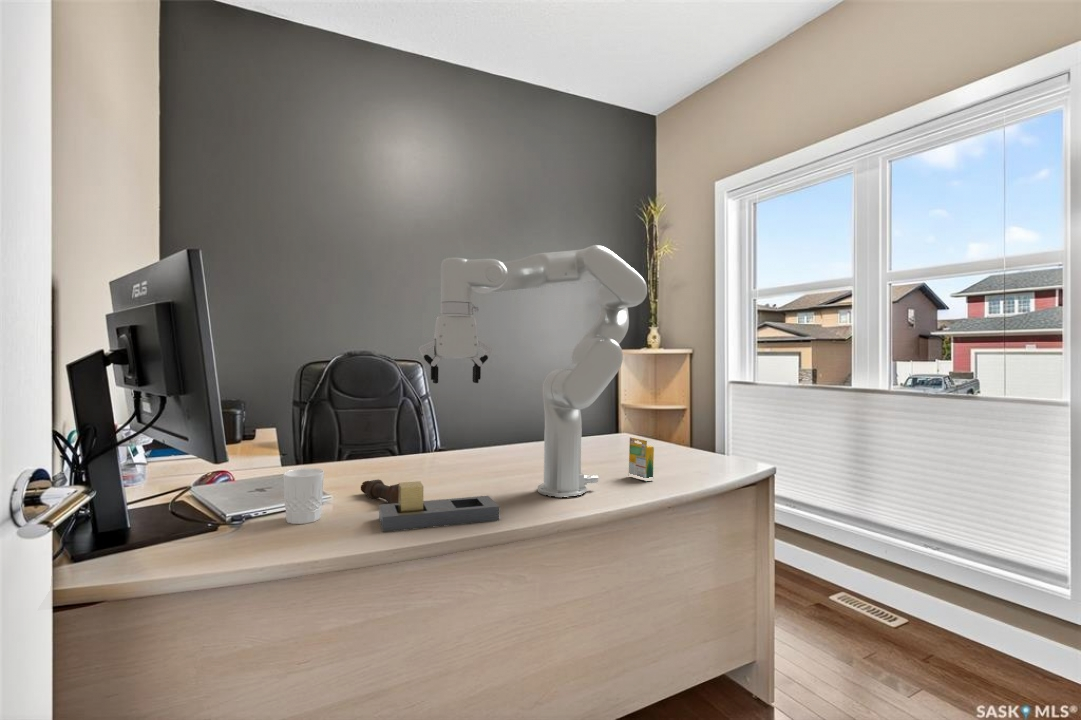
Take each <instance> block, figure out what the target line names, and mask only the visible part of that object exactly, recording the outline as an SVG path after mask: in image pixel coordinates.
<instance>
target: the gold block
mask: <svg viewBox="0 0 1081 720" xmlns="http://www.w3.org/2000/svg"><path fill="white" fill-rule="evenodd" d="M398 484H399V498H398V513H409V512H420V511H423V501H424V485H423V483H422V482H421V481H420V480H418V481H406V482H398Z"/></svg>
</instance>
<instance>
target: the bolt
mask: <svg viewBox="0 0 1081 720" xmlns="http://www.w3.org/2000/svg"><path fill="white" fill-rule="evenodd" d="M360 491H361V492H362V493H363V494H366V496H367V498H368V499H371V500H376V499H382V500H385V502H387V504H394V503H398V498H399V483H396V484H392V485H390V486H389V485H388V484H387V485H386V484H385V483H384V482H383V480H382V479H379V478H378V479H371V480H366V481H363V482H362V483H361V485H360Z"/></svg>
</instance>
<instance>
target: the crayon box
mask: <svg viewBox="0 0 1081 720" xmlns="http://www.w3.org/2000/svg"><path fill="white" fill-rule="evenodd" d="M637 442H639V443H637ZM640 442H641V443H640ZM647 443H648V440H645V439H639V438H635V437H629V448H628V449H629V450H628V451H629V453H628V456H629V457H628V474H629V473H630V474H633V475H637V476H640V477H643V478H649V477H653V478H654V459H655V457H654V453H655V447H654V446H651V445H648V444H647Z"/></svg>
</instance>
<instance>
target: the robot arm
mask: <svg viewBox="0 0 1081 720" xmlns="http://www.w3.org/2000/svg"><path fill="white" fill-rule="evenodd" d="M594 281H597V282H598V283H600V285H599V287H598V290H597V299H598V304H599V315H598V318H597V319H596V321H595V322H594V324H593V325H592V326H591V327H590V329H589V330H588V331H587V332H586V334H584V336H583V337H582V338H581V339H580V341H579V342H578V343H577V344H576V345H575V347H574V348H573V349H572V352H571V359H570V361H571V364H572V366H573V368H572V369H569V368H557V369H554V370H552V371H551V372H549V373H548V374H547V375H546V377H545V379H544V381H543V384H542V401H543V411H544V433H543V434H544V437H543V438H544V440H543V441H544V443H543V444H544V445H543V446H544V447H543V452H544V453H543V482H542V483H539V484H538V485H537V492H538V493H539V494H541V495H543V496H546V495H548V496H547V497H551V496H555V497H554V498H562V497H564V496H574V495H579V494H582V493H584V492H586V493H587V487H586V485H588V484H598V482H599V476H598V475H595V474H594V475H589V474H583V473H582V432H583V431H582V430H583V429H582V428H583V427H582V426H583V425H582V422H583V421H582V413H581V410H584V409H586V408H588V407H590V406H591V405H592V404H593V403H594V402H596V400H597V399H598V398H599V396H601V394H602V393H603V391H605V389H606V388H607V387H608V385H609V384H610V383H611V381H612V380H613V379H614V378H615V376H616V375H617V374H618V372H619V371H620V369H621V367H622V363H623V360H624V353H623V349H622V347H621V346H620V343H622V341H623V340H624V338H625V337H626V335H627V333H628V330H629V324H630V317H629V309H628V308H633V307H637V306H638V305H641V304H642V303H643V302H644V301H645V299H646V298H647V296H648V285H647V282H646V280H645V279H644V278H643V276H642V275H641V274H640V273H639V272H638V271H637V270H635V268H634V267H631V265H629V264H628V263H627V262H626V261H625V260H624V259H622V258H621V257H620V256H618V255H617V254H616V253H615V252H614V251H612V250H610V249H609V248H607V247H606V246H603V245H600V244H593V245H590V246H588V247H585V248H583V249H575V250H564V251H552V252H551V251H550V252H540V253H535V254H531V255H528V256H526V257H522V258H519V259H514V260H509V261H508V260H507V261H501V260H498V259H496V258H479V259H478V258H477V259H476V258H475V259H468V258H463V257H447V258H444V259H443V260H442V261H441V266H440V315H438V316H437V317H436V321H435V324H434V325H435V326H434V334H433V340H432V341H430V342H428V343H426V344H423V345H421V346H419V348H418V351H419V352H420V355H421V356H422V358H423V360H424V361H425V362H426V363H427V364H428V365H429V366H430V380H431V381H432V383H433V384H439V366H438V363H439V362H440V361H441V360H442V359H470V360H471V362H472V363H473V366H472V383H473V384H474V383H475V384H479V380H481V378H482V377H481V375H482V372H481V371H482V369H481V367H482V366H483V365H484V364H485V362H487V361H488V359H489V356H490V355H491V353H492V351H493V349H492V348H491V347H490V346H488V345H486V344H484V343H482V342H481V341H479V338H478V337H479V336H478V327H477V321H476V317H475V316H474V314H476V313H477V314H478V313H479V307H478V306H475V305H474V302H473V300H474V292H476V293H477V294H493V293H500V292H501V293H502V292H508V291H509V292H510V291H517V290H527V289H528V290H531V289H532V290H533V289H535V290H536V289H541V288H549V287H557V286H558V287H559V286H566V285H576V284H584V283H590V282H594ZM429 349H432V350H433V351H432V353H433V355H434V357H431V356H430V355H429V353H428V352H427V351H428V350H429ZM479 349H481V350H482V351H483V355H482V356H481V357H478V355H479Z"/></svg>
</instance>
